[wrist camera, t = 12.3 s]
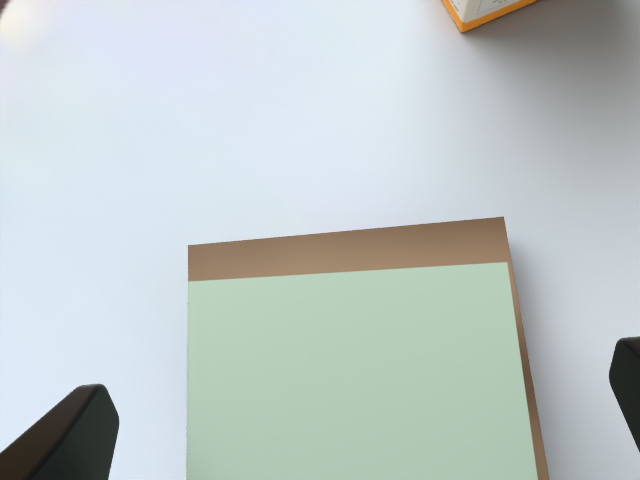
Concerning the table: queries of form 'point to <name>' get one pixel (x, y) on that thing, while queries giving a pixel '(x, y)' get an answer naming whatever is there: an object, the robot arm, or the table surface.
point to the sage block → (357, 377)
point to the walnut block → (374, 266)
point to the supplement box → (480, 11)
